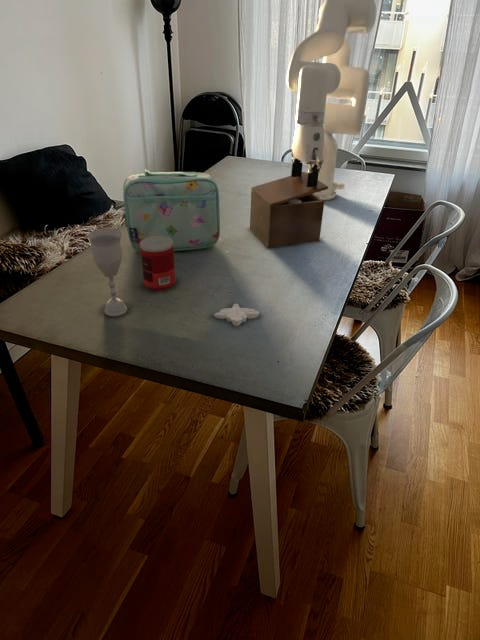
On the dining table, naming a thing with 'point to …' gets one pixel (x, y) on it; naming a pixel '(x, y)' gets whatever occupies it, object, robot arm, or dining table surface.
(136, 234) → the lunch box
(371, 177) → the dining table surface
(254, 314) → the acanthus leaf ornament
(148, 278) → the canned food
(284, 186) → the lid
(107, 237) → the chalice
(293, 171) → the robot arm
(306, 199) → the chest
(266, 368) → the dining table surface
